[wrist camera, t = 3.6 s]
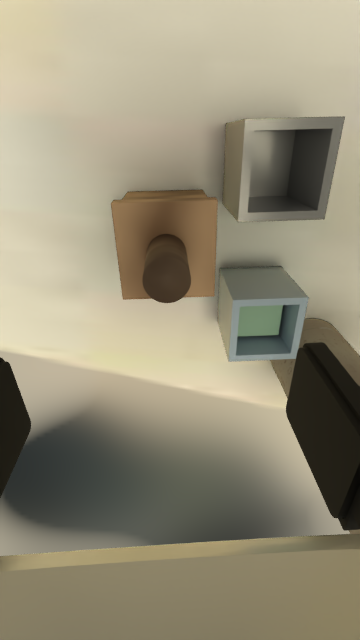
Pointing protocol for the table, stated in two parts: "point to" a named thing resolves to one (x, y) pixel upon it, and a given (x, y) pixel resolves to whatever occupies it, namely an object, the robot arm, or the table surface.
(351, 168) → the table surface
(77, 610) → the robot arm
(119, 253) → the lid
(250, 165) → the grey open storage bin
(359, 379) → the thermos bottle
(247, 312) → the green cube
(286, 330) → the square blue-grey bin
